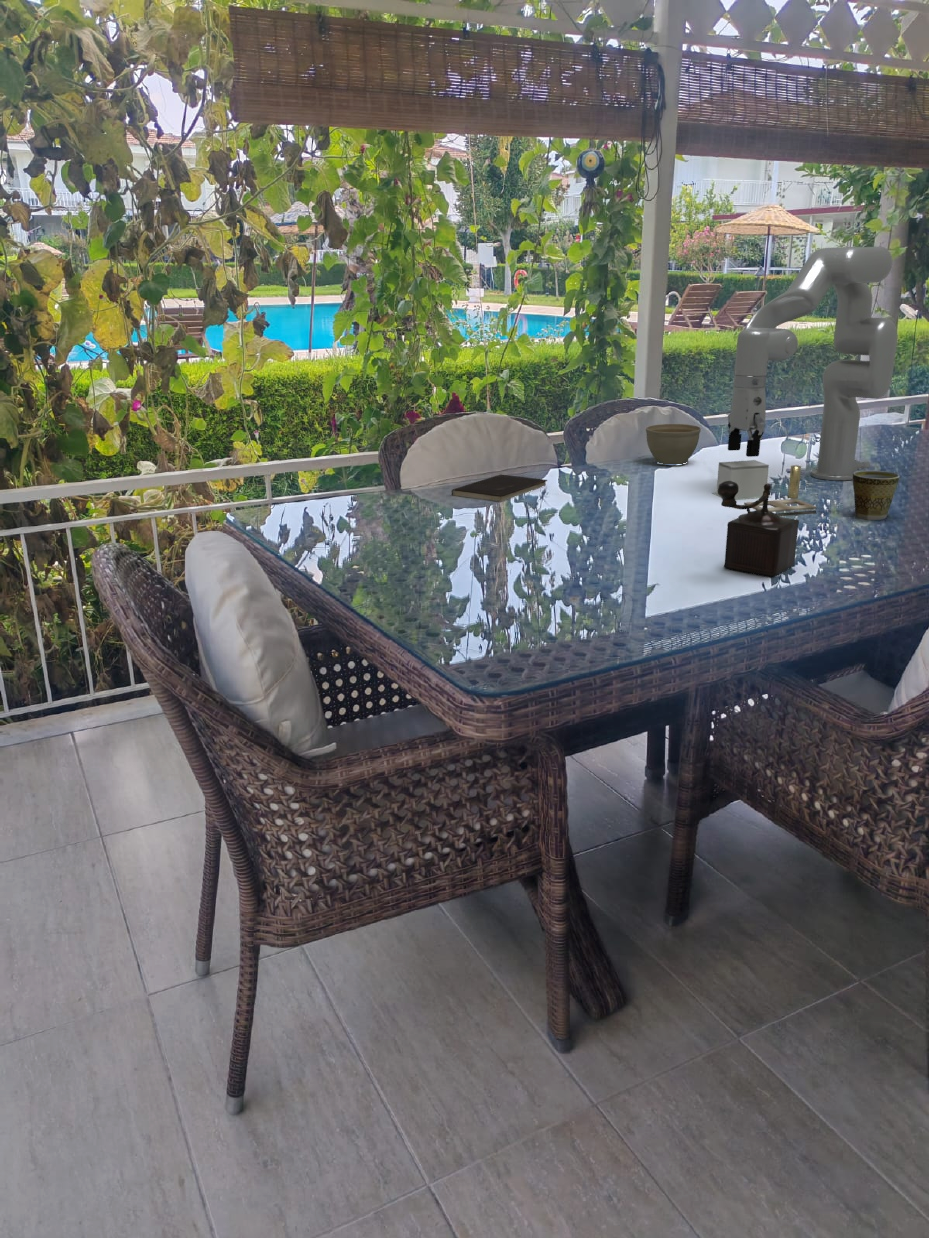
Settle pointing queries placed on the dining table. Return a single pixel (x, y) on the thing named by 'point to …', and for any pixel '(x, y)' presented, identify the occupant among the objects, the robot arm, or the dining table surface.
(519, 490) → the hardcover book
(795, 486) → the brass pin
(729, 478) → the block
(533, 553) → the dining table surface
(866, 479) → the ceramic cup
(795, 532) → the manual coffee grinder
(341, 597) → the dining table surface
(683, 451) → the planter bowl
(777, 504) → the board
